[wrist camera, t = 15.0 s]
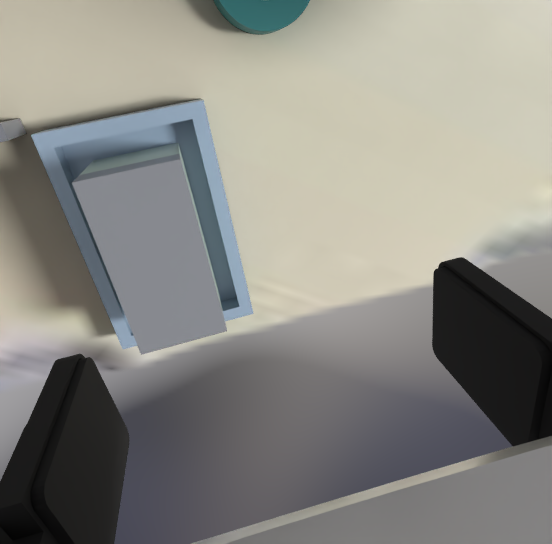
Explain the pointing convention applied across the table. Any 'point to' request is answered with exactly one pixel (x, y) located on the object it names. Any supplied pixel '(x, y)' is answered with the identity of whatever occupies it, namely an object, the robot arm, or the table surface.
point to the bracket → (261, 13)
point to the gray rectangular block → (152, 245)
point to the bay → (11, 129)
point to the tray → (201, 175)
